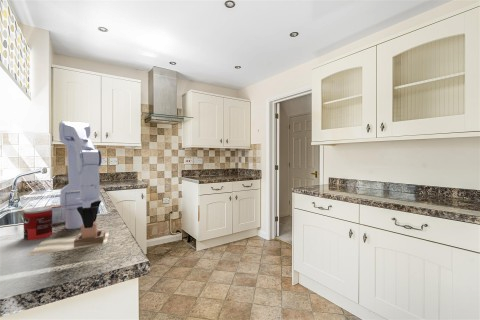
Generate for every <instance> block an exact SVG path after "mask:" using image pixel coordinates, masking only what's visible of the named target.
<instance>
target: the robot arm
mask: <svg viewBox="0 0 480 320" xmlns="http://www.w3.org/2000/svg"><path fill="white" fill-rule="evenodd" d="M58 132H59V133H58V135H59V136H58V137H59V142H60V143H61V144H63V145H65V147H66V148H65V149H66V156H67V158H66V159H67V175H68V176H67V177H68V183H67V184H66V185H65V186H64V187H62V188H61V190H60V196H59V203H60V204H61V207H62V208H65V223H64V224H65V229H67V230H76V229H82V228H81V226H82V224H84V227H85V228H92V227H93V223H94V222H95V221H97V217H98V212H99V208H100V205H101V203H102V200H101V195H100V194H101V192H100V191H101V190H100V188H101V187H100V186H101V185H100V167H101V166H102V152H101V150H100V149H98V148H97V149H96V148H95V145H94V143H93V141H92V140H91V139H90V136H91V126H90V124H89V122H76V121H75V122H74V121H73V122H72V121H63V120H61V121H59V124H58ZM60 204H59V205H60Z"/></svg>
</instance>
